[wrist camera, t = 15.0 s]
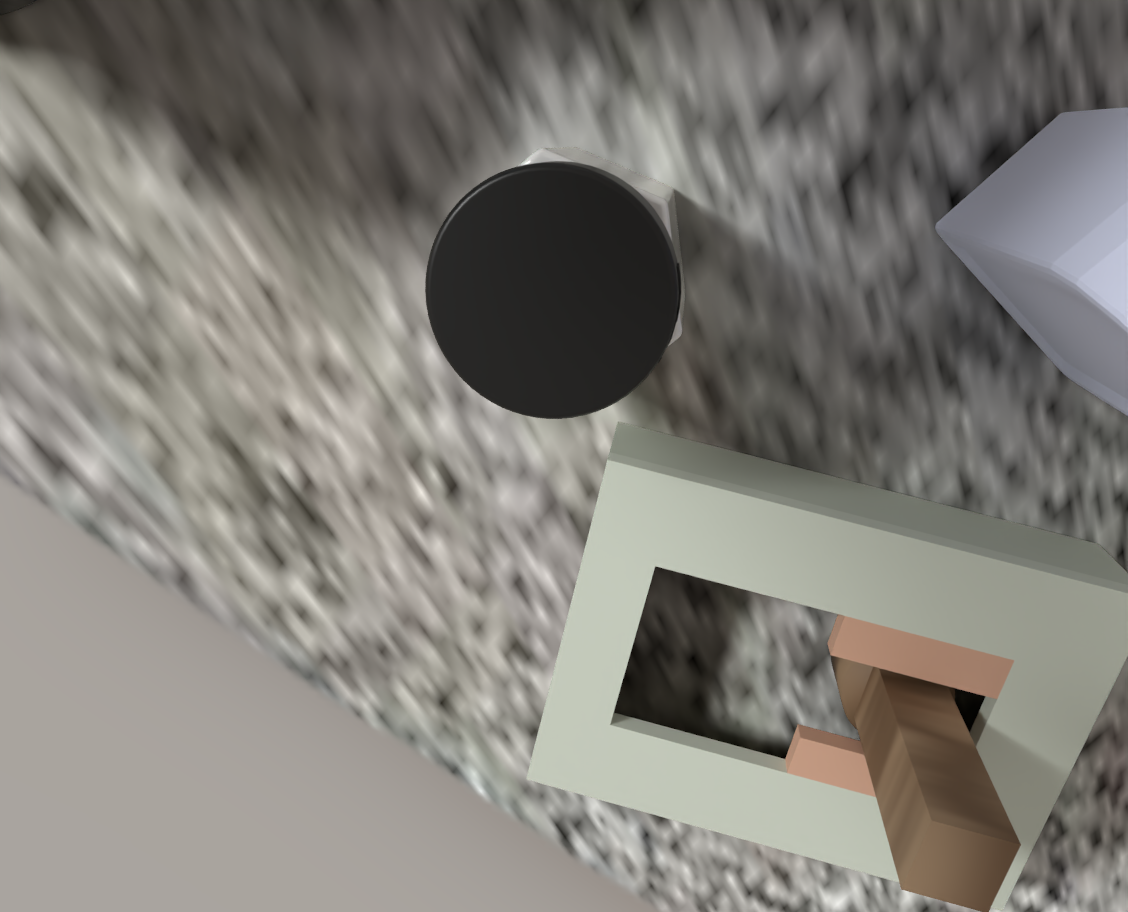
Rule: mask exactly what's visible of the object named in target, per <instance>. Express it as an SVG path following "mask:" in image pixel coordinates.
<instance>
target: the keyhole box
mask: <svg viewBox="0 0 1128 912" xmlns="http://www.w3.org/2000/svg"><path fill="white" fill-rule="evenodd" d="M655 566H656V567H660V568H664V569H668V570H672V571H675V572H679V573H683V574H687V575H691V576H695V577H698V578H702V579H706V580H710V581H714V582H717V583H721V584H725V585H729V586H733V587H736V588H740V589H744V590H748V591H752V592H756V593H759V594H763V595H767V596H771V597H775V598H778V599H782V600H786V601H790V602H794V603H797V604H801V605H805V606H809V607H813V608H817V609H820V610H824V611H828V612H832V613H836V614H838V616H837V619H836V621H835V624H834V627H833V630H832V632H831V635H830V638H829V641H828V647H829V651H830V655H832V656H835V657H839V658H843V659H847V660H851V661H854V662H858V663H862V664H866V665H869V666H873V667H877V668H881V669H885V670H888V671H892V672H896V673H900V674H903V675H907V676H911V677H915V678H919V679H922V680H926V681H930V682H934V683H937V684H941V685H945V686H949V687H953V688H956V689H960V690H964V691H968V692H971V693H975V694H979V695H983V696H986V697H985V699H984V701H983V704H982V706H981V708H980V710H979V713H978V715H977V717H976V719H975V722H974V724H973V726H972V728H971V731H970V736H971V738H972V740H973V742H974V744H975V746H976V749H977V751H978V753H979V755H980V757H981V759H982V762H983V764H984V766H985V768H986V770H987V772H988V775H989V777H990V779H991V781H992V783H993V785H994V787H995V790H996V792H997V794H998V796H999V798H1000V800H1001V803H1002V805H1003V807H1004V809H1005V811H1006V813H1007V816H1008V818H1009V820H1010V822H1011V824H1012V826H1013V829H1014V831H1015V833H1016V835H1017V837H1018V839H1019V841H1020V844H1021V846H1020V848H1019V850H1018V852H1017V854H1016V856H1015V858H1014V860H1013V862H1012V864H1011V866H1010V869H1009V871H1008V873H1007V875H1006V877H1005V879H1004V881H1003V883H1002V885H1001V887H1000V889H999V891H998V893H997V895H996V897H995V899H994V901H993V904H992V906H991V908H993V909H997V910H1000V911H1002V910H1003V908H1004V906H1005V904H1006V902H1007V900H1008V898H1009V896H1010V894H1011V892H1012V890H1013V888H1014V886H1015V884H1016V882H1017V880H1018V878H1019V876H1020V874H1021V872H1022V870H1023V868H1024V866H1025V864H1026V861H1027V859H1028V857H1029V855H1030V853H1031V851H1032V849H1033V847H1034V845H1035V843H1036V841H1037V839H1038V837H1039V835H1040V833H1041V831H1042V829H1043V827H1044V825H1045V823H1046V821H1047V819H1048V817H1049V815H1050V813H1051V811H1052V809H1053V807H1054V805H1055V803H1056V801H1057V799H1058V797H1059V794H1060V792H1061V790H1062V788H1063V786H1064V784H1065V782H1066V780H1067V778H1068V776H1069V774H1070V772H1071V770H1072V768H1073V766H1074V764H1075V762H1076V760H1077V758H1078V756H1079V754H1080V752H1081V750H1082V748H1083V746H1084V744H1085V742H1086V740H1087V738H1088V736H1089V734H1090V732H1091V730H1092V727H1093V725H1094V723H1095V721H1096V719H1097V717H1098V715H1099V713H1100V711H1101V709H1102V707H1103V705H1104V703H1105V701H1106V699H1107V697H1108V695H1109V693H1110V691H1111V689H1112V687H1113V685H1114V683H1115V681H1116V679H1117V677H1118V675H1119V673H1120V671H1121V669H1122V667H1123V665H1124V663H1125V660H1126V658H1127V656H1128V573H1127V572H1126V571H1125V570H1124V569H1123V568H1122V567H1121V566H1120V565H1119V564H1118V563H1117V562H1116V561H1115V560H1114V559H1113V558H1112V557H1111V556H1110V555H1109V554H1108V553H1107V552H1106V551H1105V550H1104V549H1103V548H1102V547H1101V546H1100V545H1099V544H1097V543H1093V542H1089V541H1085V540H1081V539H1077V538H1073V537H1069V536H1065V535H1061V534H1057V533H1053V532H1050V531H1046V530H1042V529H1038V528H1034V527H1030V526H1026V525H1022V524H1018V523H1014V522H1010V521H1006V520H1002V519H998V518H995V517H991V516H987V515H983V514H979V513H975V512H971V511H967V510H963V509H959V508H955V507H951V506H947V505H944V504H940V503H936V502H932V501H928V500H924V499H920V498H916V497H912V496H908V495H904V494H900V493H896V492H892V491H889V490H885V489H881V488H877V487H873V486H869V485H865V484H861V483H857V482H853V481H849V480H845V479H841V478H837V477H834V476H830V475H826V474H822V473H818V472H814V471H810V470H806V469H802V468H798V467H794V466H790V465H786V464H782V463H779V462H775V461H771V460H767V459H763V458H759V457H755V456H751V455H747V454H743V453H739V452H735V451H731V450H727V449H724V448H720V447H716V446H712V445H708V444H704V443H700V442H696V441H692V440H688V439H684V438H680V437H676V436H672V435H669V434H665V433H661V432H657V431H653V430H649V429H645V428H641V427H637V426H633V425H629V424H625V423H621V422H618V424H617V428H616V431H615V435H614V439H613V442H612V446H611V449H610V453H609V457H608V460H607V464H606V468H605V472H604V476H603V480H602V484H601V488H600V492H599V495H598V499H597V503H596V507H595V511H594V515H593V519H592V523H591V527H590V531H589V535H588V539H587V543H586V547H585V550H584V554H583V558H582V562H581V566H580V570H579V574H578V578H577V582H576V586H575V590H574V594H573V598H572V602H571V605H570V609H569V613H568V617H567V621H566V625H565V629H564V633H563V637H562V641H561V645H560V649H559V653H558V657H557V660H556V664H555V668H554V672H553V676H552V680H551V684H550V688H549V692H548V696H547V700H546V704H545V708H544V712H543V715H542V719H541V723H540V727H539V731H538V735H537V739H536V743H535V747H534V751H533V755H532V759H531V763H530V767H529V770H528V774H527V778H526V779H527V780H530V781H534V782H538V783H541V784H545V785H548V786H552V787H556V788H559V789H563V790H566V791H570V792H574V793H577V794H581V795H585V796H588V797H592V798H595V799H599V800H603V801H606V802H610V803H613V804H617V805H621V806H624V807H628V808H632V809H635V810H639V811H642V812H646V813H650V814H653V815H657V816H660V817H664V818H668V819H671V820H675V821H679V822H682V823H686V824H689V825H693V826H697V827H700V828H704V829H707V830H711V831H715V832H718V833H722V834H726V835H729V836H733V837H736V838H740V839H744V840H747V841H751V842H755V843H758V844H762V845H765V846H769V847H773V848H776V849H780V850H783V851H787V852H791V853H794V854H798V855H802V856H805V857H809V858H812V859H816V860H820V861H823V862H827V863H830V864H834V865H838V866H841V867H845V868H849V869H852V870H856V871H859V872H863V873H867V874H870V875H874V876H877V877H881V878H885V879H888V880H892V881H896V882H899V879H898V875H897V872H896V868H895V864H894V861H893V857H892V853H891V850H890V846H889V842H888V839H887V835H886V832H885V828H884V824H883V821H882V817H881V813H880V810H879V806H878V802H877V799H876V795H875V792H874V788H873V784H872V781H871V777H870V773H869V770H868V766H867V763H866V759H865V755H864V752H863V748H862V744H861V741H858V740H855V739H851V738H847V737H844V736H840V735H836V734H832V733H829V732H825V731H821V730H817V729H814V728H810V727H806V726H803V725H799V724H798V725H797V728H796V731H795V734H794V736H793V739H792V742H791V745H790V747H789V750H788V753H787V755H786V758H785V759H783V758H779V757H776V756H772V755H768V754H765V753H761V752H757V751H753V750H750V749H746V748H742V747H739V746H735V745H731V744H728V743H724V742H720V741H717V740H713V739H709V738H706V737H702V736H698V735H695V734H691V733H687V732H683V731H680V730H676V729H672V728H669V727H665V726H661V725H658V724H654V723H650V722H647V721H643V720H639V719H636V718H632V717H628V716H624V715H621V714H617V713H614V710H615V706H616V702H617V699H618V695H619V692H620V688H621V685H622V681H623V678H624V674H625V671H626V667H627V664H628V660H629V657H630V653H631V650H632V646H633V643H634V639H635V636H636V632H637V629H638V625H639V622H640V618H641V615H642V611H643V608H644V604H645V601H646V597H647V594H648V590H649V587H650V583H651V580H652V576H653V573H654V569H655ZM899 883H900V882H899Z"/></svg>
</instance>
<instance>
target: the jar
mask: <svg viewBox="0 0 1128 912" xmlns="http://www.w3.org/2000/svg"><path fill="white" fill-rule="evenodd" d="M425 293H426V305H427V310H428V316H429V320H430V323H431V327H432V330H433V333H434V335H435V338H436V340H437V343H438V345H439V347H440V349H441V351H442V352H443V354H444V356H445V357H446V359H447V361H448V362H449V363H450V365H451V366H452V368H453V369H454V370H455V371H456V373H457V374H458V375H459V376H460V377H461V378H462V379H463V380H464V381H465V382H466V383H467V384H468V385H469V386H470V387H471V388H472V389H474V390H475V391H476V392H478V393H479V394H480V395H481V396H483V397H485V398H486V399H488V400H489V401H491V402H493V403H495V404H497V405H498V406H500V407H502V408H505V409H507V410H510V411H512V412H515V413H519V414H522V415H526V416H531V417H536V418H546V419H562V418H573V417H578V416H583V415H587V414H590V413H593V412H596V411H599V410H601V409H604V408H606V407H608V406H610V405H612V404H614V403H616V402H618V401H619V400H621V399H622V398H624V397H625V396H627V395H628V394H629V393H631V392H632V391H633V390H634V389H635V388H637V387H638V386H639V385H640V384H641V383H642V382H643V381H644V380H645V379H646V378H647V376H648V375H649V374H650V373H651V372H652V370H653V369H654V368H655V366H656V365H657V363H658V362H659V361H660V359H661V358H662V355H663V353H664V351H665V349H666V348H667V347H668V346H669V345H670V344H672V343H673V342H674V341H676V340H677V339H679V338H680V336H681V335H682V328H683V315H684V302H685V285H684V276H683V267H682V258H681V249H680V240H679V231H678V222H677V213H676V204H675V195H674V190H673V188H672V187H670V186H668V185H666V184H664V183H661V182H659V181H656V180H654V179H652V178H649V177H647V176H644V175H642V174H640V173H637V172H635V171H632V170H630V169H628V168H625V167H623V166H620V165H618V164H616V163H613V162H611V161H608V160H606V159H604V158H601V157H599V156H596V155H594V154H592V153H589V152H587V151H585V150H582V149H580V148H577V147H563V148H540V149H538V150H536V151H535V152H534V153H533V154H531V155H530V156H529V157H528V158H527V159H526V160H524V161H523V162H522V163H521V164H520V165H519V166H517V167H514V168H511V169H508V170H505V171H503V172H500V173H498V174H496V175H494V176H492V177H490V178H488V179H487V180H485V181H483V182H482V183H480V184H479V185H477V186H476V187H475V188H473V189H472V190H471V191H470V192H468V193H467V194H466V195H465V196H464V197H463V198H462V199H461V200H460V201H459V202H458V203H457V204H456V206H455V207H454V208H453V209H452V211H451V212H450V213H449V215H448V216H447V218H446V219H445V221H444V222H443V224H442V226H441V228H440V229H439V231H438V234H437V236H436V238H435V241H434V243H433V246H432V249H431V252H430V256H429V260H428V265H427V272H426V289H425Z"/></svg>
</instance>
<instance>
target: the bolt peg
mask: <svg viewBox="0 0 1128 912" xmlns="http://www.w3.org/2000/svg"><path fill="white" fill-rule="evenodd" d="M831 661H832V666H833V670H834V674H835V678H836V682H837V686H838V689H839V693H840V697H841V701H842V705H843V708H844V711H845V714H846V716H847V718H848V720H849V721H850V722H851V724H852V725H853V726H854V727H855V728H856V729H857V730H858V733H859V737H860V741H861V744H862V748H863V752H864V755H865V759H866V763H867V766H868V770H869V773H870V777H871V781H872V784H873V788H874V792H875V795H876V799H877V802H878V806H879V810H880V813H881V817H882V821H883V824H884V828H885V832H886V835H887V839H888V842H889V846H890V850H891V853H892V857H893V861H894V864H895V868H896V872H897V875H898V879H899V882H900V886H901V889H902V890H906V891H909V892H913V893H917V894H920V895H924V896H927V897H931V898H935V899H938V900H942V901H946V902H949V903H953V904H956V905H960V906H964V907H967V908H971V909H974V910H978V911H982V912H989V910H990V908H991V906H992V904H993V901H994V899H995V897H996V895H997V893H998V891H999V889H1000V887H1001V885H1002V883H1003V881H1004V879H1005V877H1006V875H1007V873H1008V871H1009V869H1010V866H1011V864H1012V862H1013V860H1014V858H1015V856H1016V854H1017V852H1018V850H1019V848H1020V846H1021V844H1020V841H1019V839H1018V837H1017V835H1016V833H1015V831H1014V829H1013V826H1012V824H1011V822H1010V820H1009V818H1008V816H1007V813H1006V811H1005V809H1004V807H1003V805H1002V803H1001V800H1000V798H999V796H998V794H997V792H996V790H995V787H994V785H993V783H992V781H991V779H990V777H989V775H988V772H987V770H986V768H985V766H984V764H983V762H982V759H981V757H980V755H979V753H978V751H977V749H976V746H975V744H974V742H973V740H972V738H971V736H970V733H969V731H968V729H967V727H966V725H965V723H964V720H963V718H962V716H961V714H960V712H959V710H958V708H957V705H956V703H955V688H953V687H949V686H945V685H941V684H937V683H934V682H930V681H926V680H922V679H919V678H915V677H911V676H907V675H903V674H900V673H896V672H892V671H888V670H885V669H881V668H877V667H873V666H869V665H866V664H862V663H858V662H854V661H851V660H847V659H843V658H839V657H835V656H832V655H831Z"/></svg>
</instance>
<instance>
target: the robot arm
mask: <svg viewBox="0 0 1128 912" xmlns="http://www.w3.org/2000/svg"><path fill="white" fill-rule="evenodd" d="M35 1H36V0H0V14H4V13H8V12H12V11H14V10H17V9H20V8H22V7H25V6H27V5H29V4H31V3H33V2H35Z"/></svg>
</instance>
